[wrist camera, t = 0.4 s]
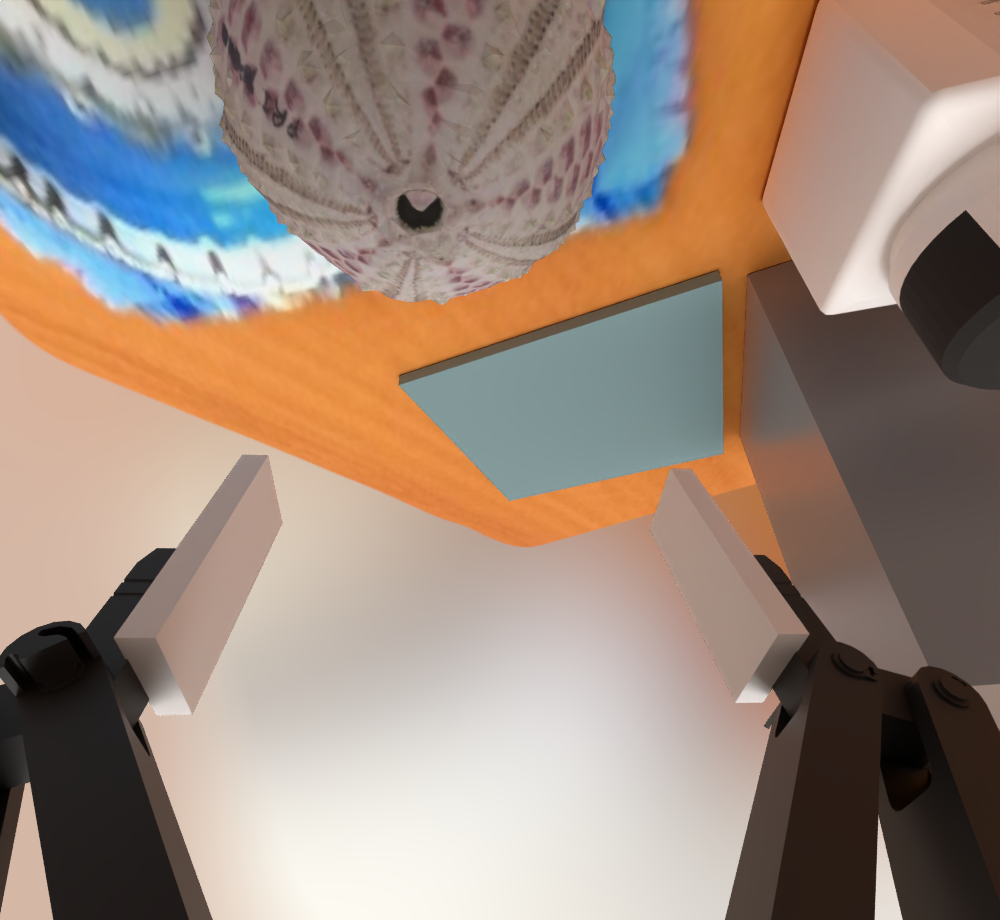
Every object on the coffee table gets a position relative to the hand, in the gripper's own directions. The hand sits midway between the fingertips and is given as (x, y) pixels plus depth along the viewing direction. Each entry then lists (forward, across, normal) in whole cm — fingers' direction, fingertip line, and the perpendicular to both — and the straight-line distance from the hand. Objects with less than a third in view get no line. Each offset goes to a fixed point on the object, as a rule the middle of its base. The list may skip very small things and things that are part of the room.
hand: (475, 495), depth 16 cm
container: (+10, +16, +13) cm, 23 cm away
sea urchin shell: (+10, -2, +12) cm, 16 cm away
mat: (+19, +9, -7) cm, 23 cm away
